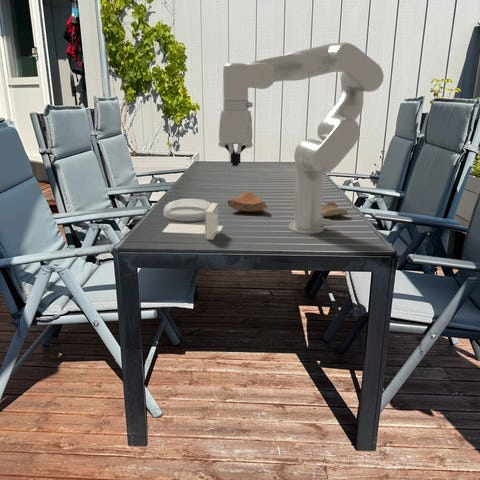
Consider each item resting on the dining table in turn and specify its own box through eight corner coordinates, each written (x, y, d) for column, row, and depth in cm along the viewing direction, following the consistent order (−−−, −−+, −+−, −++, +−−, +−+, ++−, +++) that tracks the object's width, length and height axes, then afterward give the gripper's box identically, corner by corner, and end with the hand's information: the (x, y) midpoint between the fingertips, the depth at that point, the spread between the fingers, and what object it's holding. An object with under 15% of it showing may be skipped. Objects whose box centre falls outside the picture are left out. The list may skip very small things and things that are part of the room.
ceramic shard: (275, 207, 191) (244, 196, 197) (276, 193, 188) (245, 183, 194) (258, 222, 181) (226, 211, 187) (259, 208, 177) (226, 197, 183)
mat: (223, 227, 166) (223, 226, 166) (212, 248, 147) (212, 246, 147) (169, 225, 168) (169, 223, 168) (152, 244, 150) (152, 243, 149)
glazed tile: (218, 230, 161) (217, 203, 157) (212, 240, 152) (212, 211, 148) (211, 230, 161) (210, 202, 158) (205, 240, 152) (204, 211, 148)
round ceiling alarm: (226, 211, 192) (226, 197, 190) (212, 231, 169) (212, 216, 167) (170, 207, 196) (169, 194, 194) (148, 227, 173) (147, 211, 171)
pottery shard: (349, 218, 180) (338, 205, 188) (350, 209, 177) (340, 196, 185) (323, 222, 178) (314, 209, 186) (324, 212, 175) (315, 199, 183)
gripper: (261, 105, 143) (259, 164, 149) (213, 104, 145) (214, 162, 151) (258, 107, 136) (257, 168, 142) (209, 106, 138) (210, 167, 144)
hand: (235, 165), depth 147 cm, fingers closed
